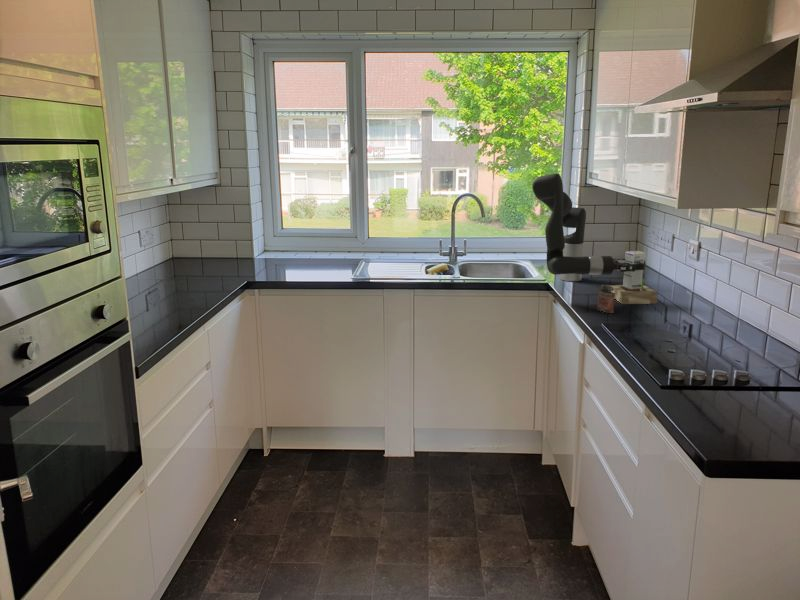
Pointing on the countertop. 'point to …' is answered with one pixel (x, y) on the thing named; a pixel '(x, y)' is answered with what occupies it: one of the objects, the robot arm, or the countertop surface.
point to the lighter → (606, 299)
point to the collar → (634, 295)
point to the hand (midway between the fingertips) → (640, 265)
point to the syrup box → (637, 277)
